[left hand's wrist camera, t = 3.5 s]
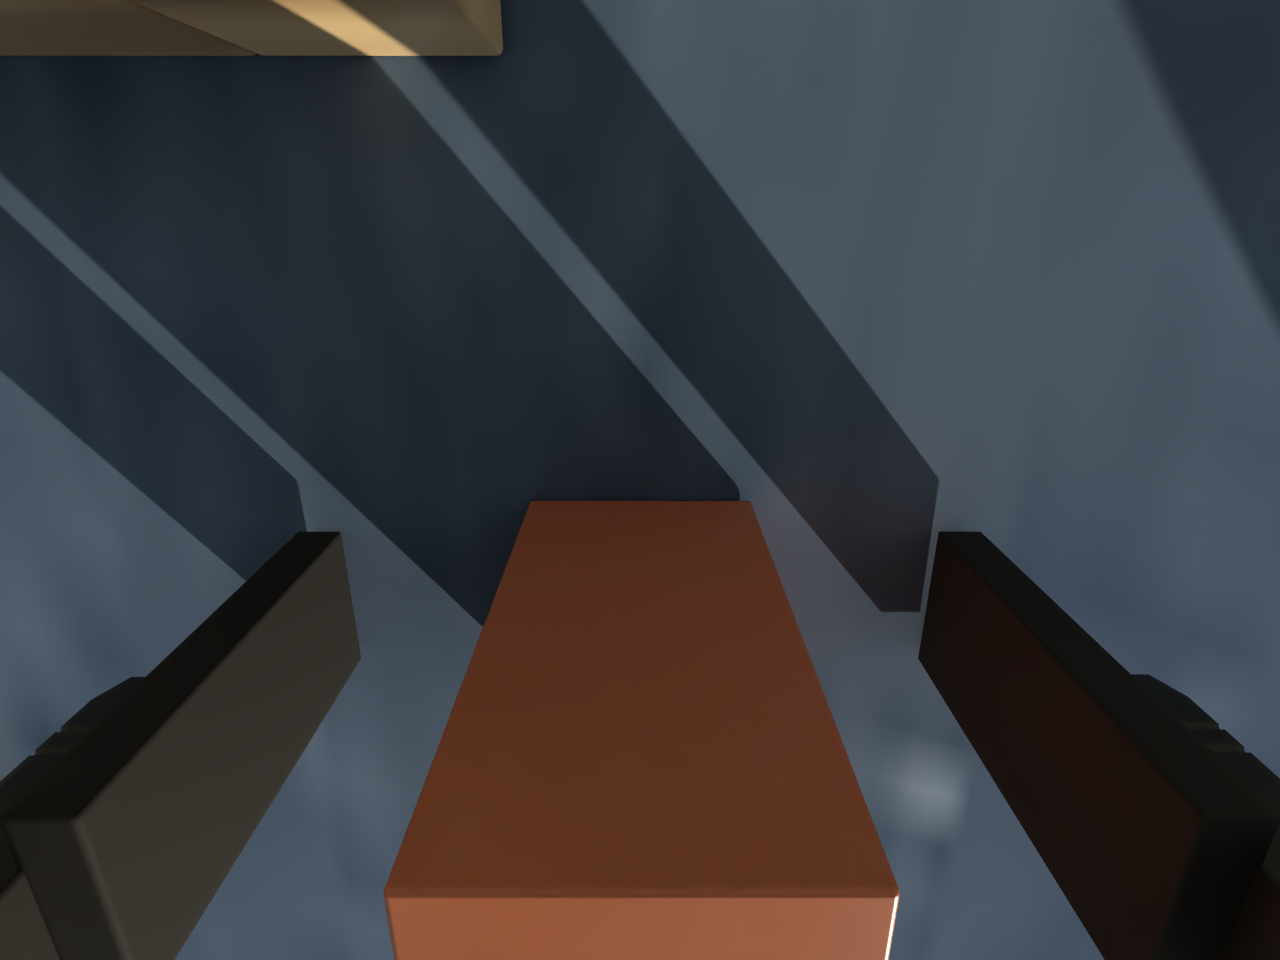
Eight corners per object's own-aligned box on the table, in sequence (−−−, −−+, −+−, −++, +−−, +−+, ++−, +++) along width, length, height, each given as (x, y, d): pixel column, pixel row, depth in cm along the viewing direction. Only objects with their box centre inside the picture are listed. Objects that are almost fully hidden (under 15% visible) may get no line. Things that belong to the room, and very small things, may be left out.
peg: (740, 685, 14) (849, 1199, 7) (540, 684, 14) (431, 1199, 7) (750, 499, 13) (903, 892, 5) (530, 499, 13) (379, 892, 5)
